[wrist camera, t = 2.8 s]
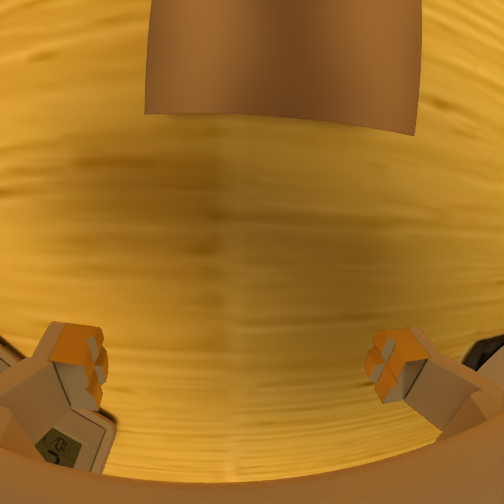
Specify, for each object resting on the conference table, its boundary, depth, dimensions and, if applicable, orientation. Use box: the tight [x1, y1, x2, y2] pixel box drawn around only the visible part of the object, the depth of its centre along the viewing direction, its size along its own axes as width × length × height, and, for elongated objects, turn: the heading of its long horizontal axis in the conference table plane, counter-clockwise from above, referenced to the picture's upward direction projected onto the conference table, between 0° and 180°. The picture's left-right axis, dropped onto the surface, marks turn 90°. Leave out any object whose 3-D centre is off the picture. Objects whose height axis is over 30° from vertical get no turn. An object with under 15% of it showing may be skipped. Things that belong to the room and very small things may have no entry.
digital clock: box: [0, 343, 117, 474], centre depth 17 cm, size 16×9×11 cm, turn 31°
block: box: [145, 0, 422, 136], centre depth 10 cm, size 10×10×5 cm
